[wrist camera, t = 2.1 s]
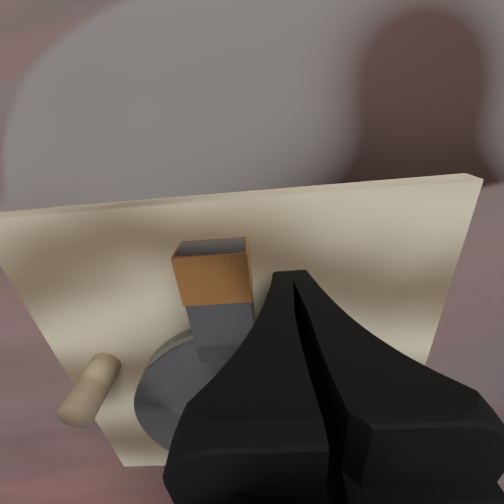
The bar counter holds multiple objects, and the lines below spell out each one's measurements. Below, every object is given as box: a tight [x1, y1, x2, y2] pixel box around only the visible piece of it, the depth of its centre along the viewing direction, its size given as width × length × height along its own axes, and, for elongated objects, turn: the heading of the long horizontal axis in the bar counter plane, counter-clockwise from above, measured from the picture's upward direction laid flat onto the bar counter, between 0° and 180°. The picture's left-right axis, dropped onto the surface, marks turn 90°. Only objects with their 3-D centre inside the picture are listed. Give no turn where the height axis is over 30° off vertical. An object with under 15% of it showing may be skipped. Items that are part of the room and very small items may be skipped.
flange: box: [134, 236, 256, 451], centre depth 13 cm, size 14×10×1 cm
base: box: [0, 173, 483, 467], centre depth 14 cm, size 20×20×6 cm
